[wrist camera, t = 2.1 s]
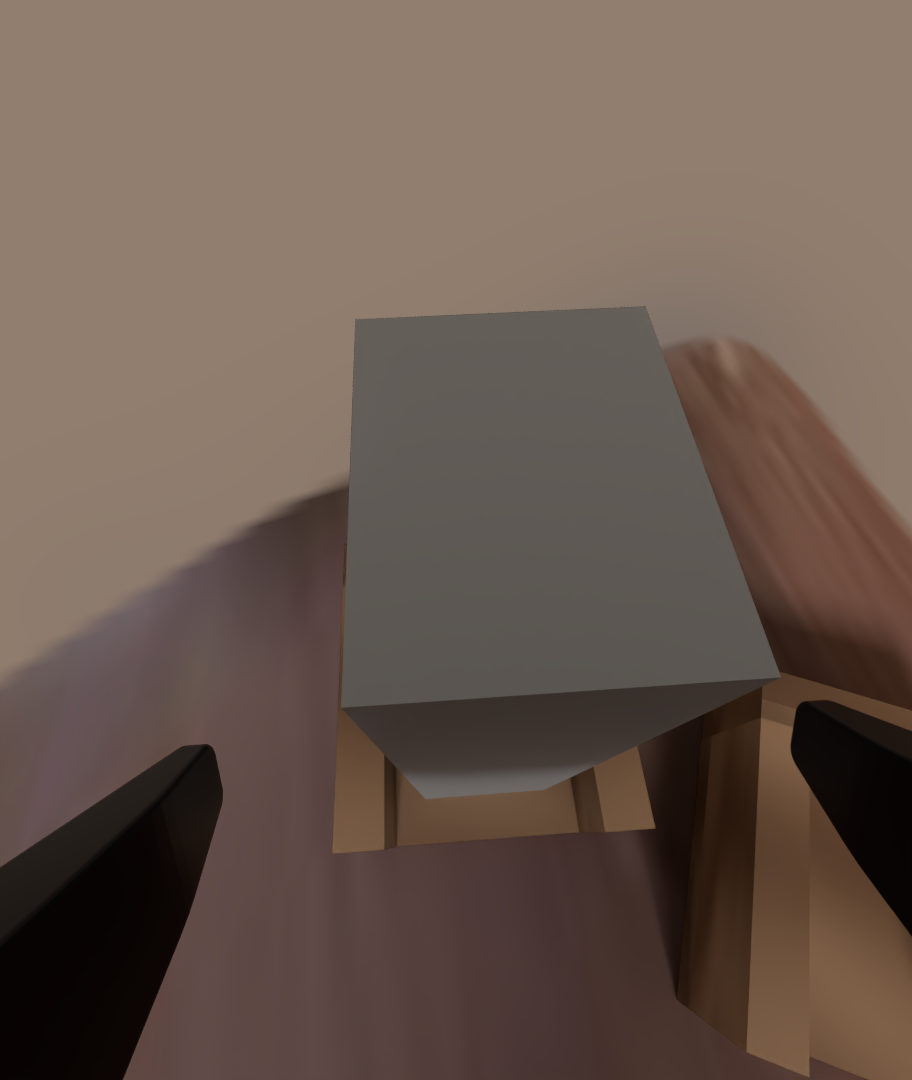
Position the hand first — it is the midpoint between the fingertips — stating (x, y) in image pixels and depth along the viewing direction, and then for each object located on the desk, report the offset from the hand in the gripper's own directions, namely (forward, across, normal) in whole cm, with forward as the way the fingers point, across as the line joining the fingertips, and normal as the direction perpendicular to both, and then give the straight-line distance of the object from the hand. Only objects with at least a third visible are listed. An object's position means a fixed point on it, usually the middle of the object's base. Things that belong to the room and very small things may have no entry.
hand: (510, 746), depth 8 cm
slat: (+8, 0, +5) cm, 9 cm away
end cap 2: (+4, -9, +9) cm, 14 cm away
